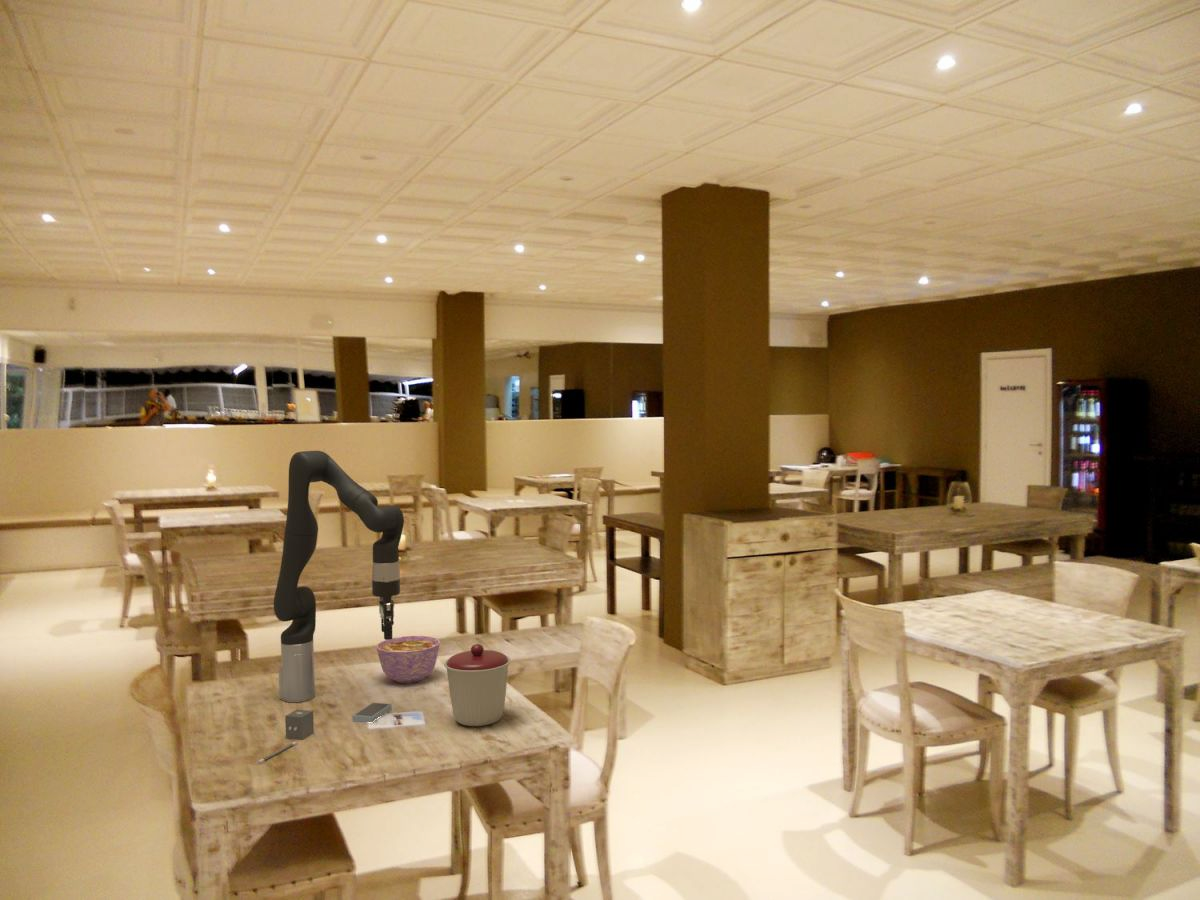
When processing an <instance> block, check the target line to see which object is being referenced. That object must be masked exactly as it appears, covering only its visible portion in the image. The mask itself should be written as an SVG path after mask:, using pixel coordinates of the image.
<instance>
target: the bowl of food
mask: <svg viewBox="0 0 1200 900" xmlns="http://www.w3.org/2000/svg"><path fill="white" fill-rule="evenodd" d="M440 640H441V639H438V638H436V637H432V636H426V635H407V636H405V635H403V636H398V637H392V639H389V640H385V639H384V640H381V641H380V642H378V643H377V644H376V652H377V655H378V659H379V662H380V666H381V669H382V671H383V673H384V675H385V676H386V677H388V678H390V680H391V679H392V680H394V681H395V682H397V683H400V684H411V683H412V682H413V683H416V681H417V682H420V681H422V680H423V679H424V678H426V677H428V676H429V675H430V674H431V673H432V672H433V671H434V669H435V666H436V663H437V659H438V655H439V649H440V644H441V641H440ZM419 680H420V681H419Z"/></svg>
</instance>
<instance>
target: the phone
mask: <svg viewBox="0 0 1200 900" xmlns="http://www.w3.org/2000/svg"><path fill="white" fill-rule="evenodd" d="M390 710H391V711H393V710H392V703H385V702H371V703H370V704H368V705H367V706H365V707H362V709H360V710H359V711H357V712H355V713H354V714H352V716H351V717H352V722H353V723H363V722H373V721H374V720H375V719H377V718H378V717H380V716H382V715H384V714H385V713H386V714H388V713H389V712H390ZM387 712H388V713H387ZM386 714H385V715H386ZM385 715H384V716H385ZM382 717H383V716H382ZM373 723H374V722H373Z"/></svg>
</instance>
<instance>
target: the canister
mask: <svg viewBox="0 0 1200 900" xmlns="http://www.w3.org/2000/svg"><path fill="white" fill-rule="evenodd" d="M511 661H512V660H511V658H510V657H509V656H508V655H506V654H504V653H503V652H500V651H496V650H491V649H484V645H482V644H478V643H475V644H473V645H472V646H471V647H470V650H468V651H462V652H458V653H456V654H454V655H452V656H450V657H449V658H447V659H446V660H445V661H444V662H443V666H444V667H445V669H446V672H447V681H448V688H449V695H450V702H451V709H452V715H453V717H454V719H455V720H456V722H458V724H461V725H462V726H463V725H464V726H467V727H485V726H489V725H492V724H495V723H497V722H499V720H500V719H501V718H502V716H503V715H504V711H505V705H506V703H505V702H506V696H507V685H508V674H509V673H508V672H509V669H508V668H509V665H510V663H511Z"/></svg>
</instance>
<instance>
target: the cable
mask: <svg viewBox="0 0 1200 900" xmlns="http://www.w3.org/2000/svg"><path fill="white" fill-rule="evenodd" d="M296 745H297V741H293V742H292V743H289V744H287V745H286V746H283V747H281V748H280V749H278V750H276V751H274V752H272V753H270V754H268V755H266V756H265V757H263V758H261V759H260V760H258V763H259V764H262V763H263V762H265V761H267V760H269V759H271V758H273V757H275V756H276V755H278V754H280V753H282V752H283V751H286V750H288V749H290V748H292V747H294V746H296Z"/></svg>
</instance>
